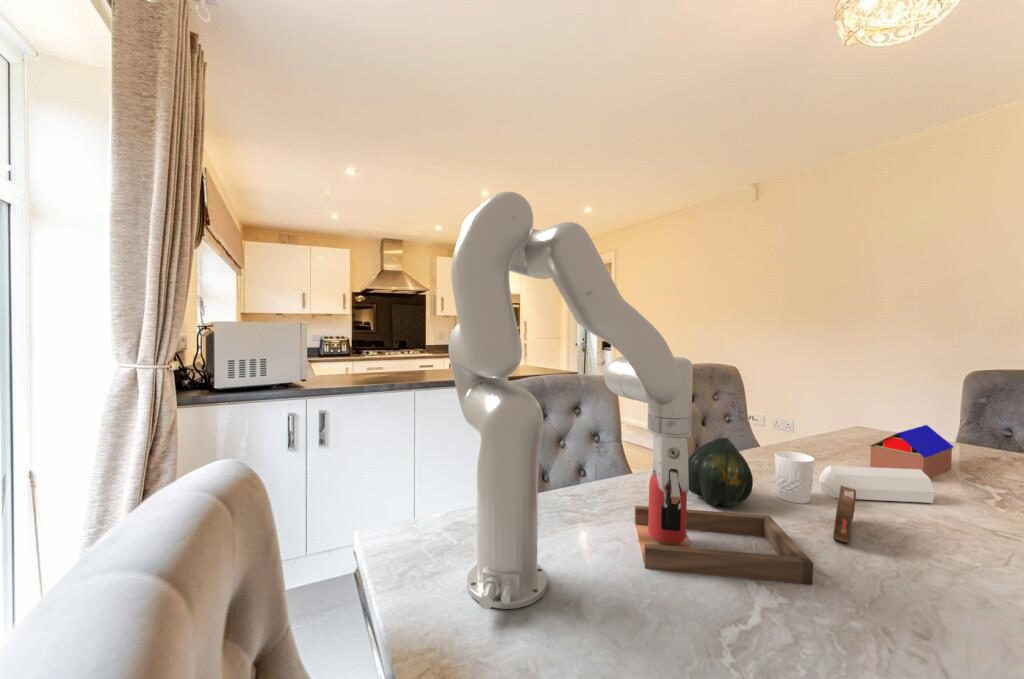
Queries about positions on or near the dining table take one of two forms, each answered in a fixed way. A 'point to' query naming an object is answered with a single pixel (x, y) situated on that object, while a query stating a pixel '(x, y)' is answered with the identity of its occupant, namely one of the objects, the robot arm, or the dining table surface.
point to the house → (913, 451)
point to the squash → (719, 473)
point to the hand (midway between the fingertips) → (666, 519)
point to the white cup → (794, 476)
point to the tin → (844, 514)
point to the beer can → (655, 514)
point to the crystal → (879, 483)
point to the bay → (726, 563)
